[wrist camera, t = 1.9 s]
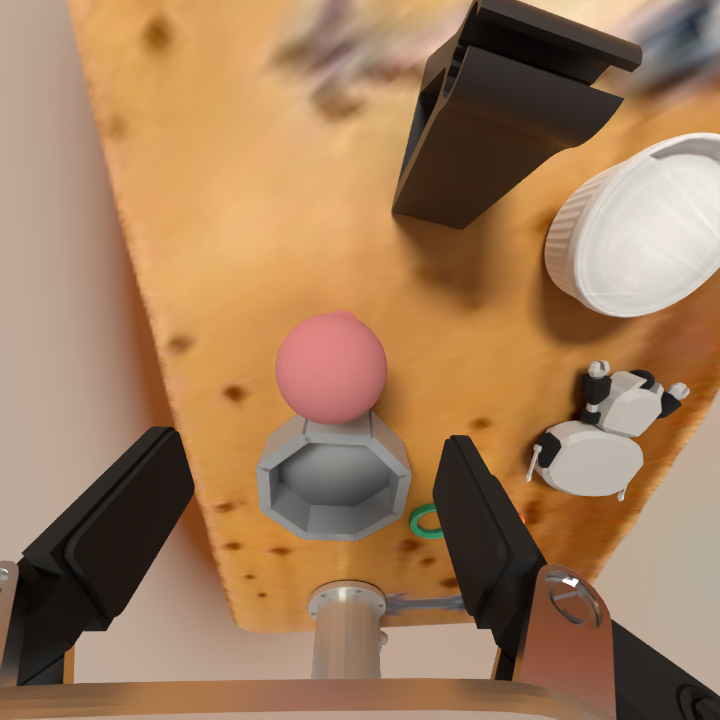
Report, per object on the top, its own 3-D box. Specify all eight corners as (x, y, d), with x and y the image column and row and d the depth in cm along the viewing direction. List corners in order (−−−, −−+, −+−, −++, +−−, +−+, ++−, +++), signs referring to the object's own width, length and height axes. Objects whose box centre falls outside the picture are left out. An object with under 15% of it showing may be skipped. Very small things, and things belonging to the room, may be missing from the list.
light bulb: (302, 362, 27) (267, 448, 16) (298, 288, 24) (252, 332, 13) (373, 364, 27) (388, 450, 16) (378, 291, 24) (400, 337, 13)
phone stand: (426, 60, 18) (542, -214, 7) (509, 89, 19) (731, -122, 8) (390, 211, 22) (429, 184, 11) (460, 230, 22) (565, 223, 11)
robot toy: (568, 346, 28) (504, 460, 33) (609, 361, 24) (527, 490, 28) (665, 374, 30) (590, 479, 34) (718, 393, 25) (624, 510, 30)
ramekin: (697, 157, 21) (801, 133, 16) (633, 303, 25) (699, 319, 20) (553, 153, 20) (616, 126, 15) (515, 302, 25) (554, 317, 20)
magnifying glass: (406, 530, 38) (409, 543, 37) (410, 501, 36) (412, 513, 34) (512, 528, 39) (518, 540, 37) (522, 498, 36) (530, 510, 35)
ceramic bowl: (426, 465, 33) (436, 497, 29) (331, 521, 37) (328, 557, 32) (342, 379, 28) (340, 404, 24) (242, 455, 31) (225, 488, 27)
